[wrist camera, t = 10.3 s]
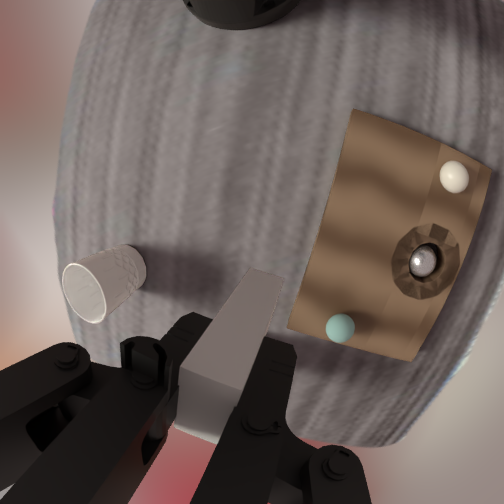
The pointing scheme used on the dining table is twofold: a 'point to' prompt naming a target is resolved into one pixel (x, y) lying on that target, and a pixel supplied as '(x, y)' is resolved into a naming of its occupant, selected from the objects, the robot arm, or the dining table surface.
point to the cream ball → (454, 177)
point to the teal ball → (340, 328)
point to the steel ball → (422, 261)
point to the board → (388, 238)
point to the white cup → (103, 281)
